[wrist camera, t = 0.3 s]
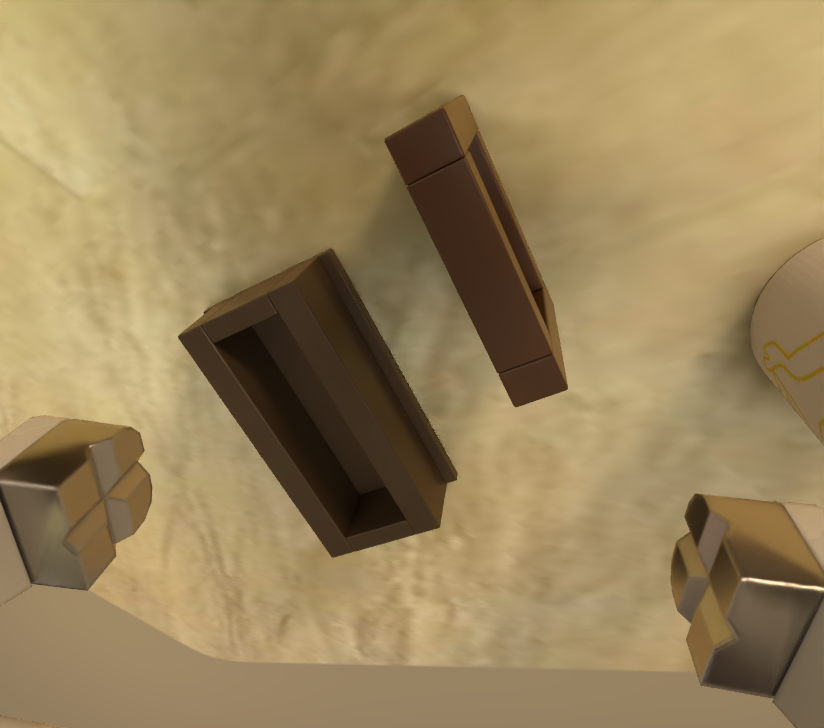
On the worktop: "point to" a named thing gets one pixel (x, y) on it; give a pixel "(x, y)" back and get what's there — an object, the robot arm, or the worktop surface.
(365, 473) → the holder
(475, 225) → the frame
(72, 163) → the worktop surface
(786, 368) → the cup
